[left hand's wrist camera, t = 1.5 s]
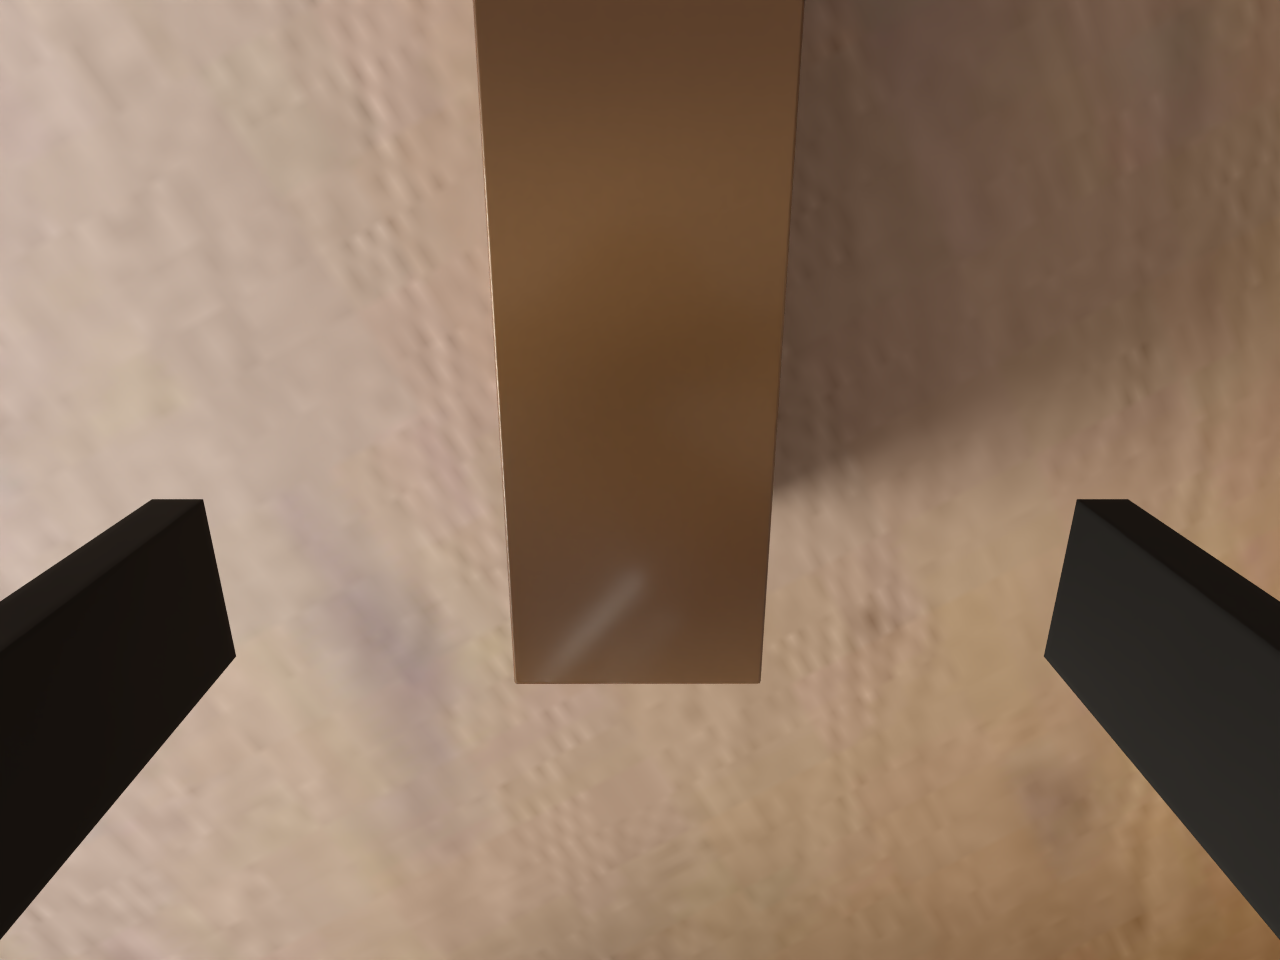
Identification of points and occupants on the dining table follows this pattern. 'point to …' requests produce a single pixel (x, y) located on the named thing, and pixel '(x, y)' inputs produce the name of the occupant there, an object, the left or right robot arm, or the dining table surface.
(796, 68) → the bar
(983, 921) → the dining table surface
